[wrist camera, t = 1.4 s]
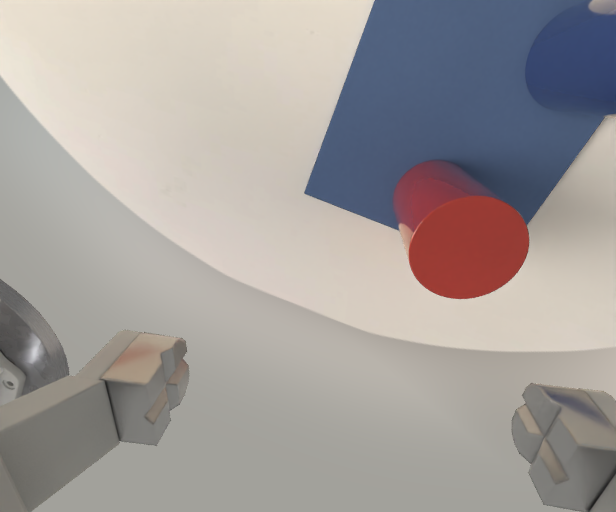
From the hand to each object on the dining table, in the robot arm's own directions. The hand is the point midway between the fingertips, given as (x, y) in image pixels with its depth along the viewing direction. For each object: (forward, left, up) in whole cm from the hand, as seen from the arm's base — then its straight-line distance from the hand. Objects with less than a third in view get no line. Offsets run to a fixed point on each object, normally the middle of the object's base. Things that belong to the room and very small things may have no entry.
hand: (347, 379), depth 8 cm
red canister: (0, -7, -22) cm, 23 cm away
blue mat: (+6, -6, -23) cm, 24 cm away
